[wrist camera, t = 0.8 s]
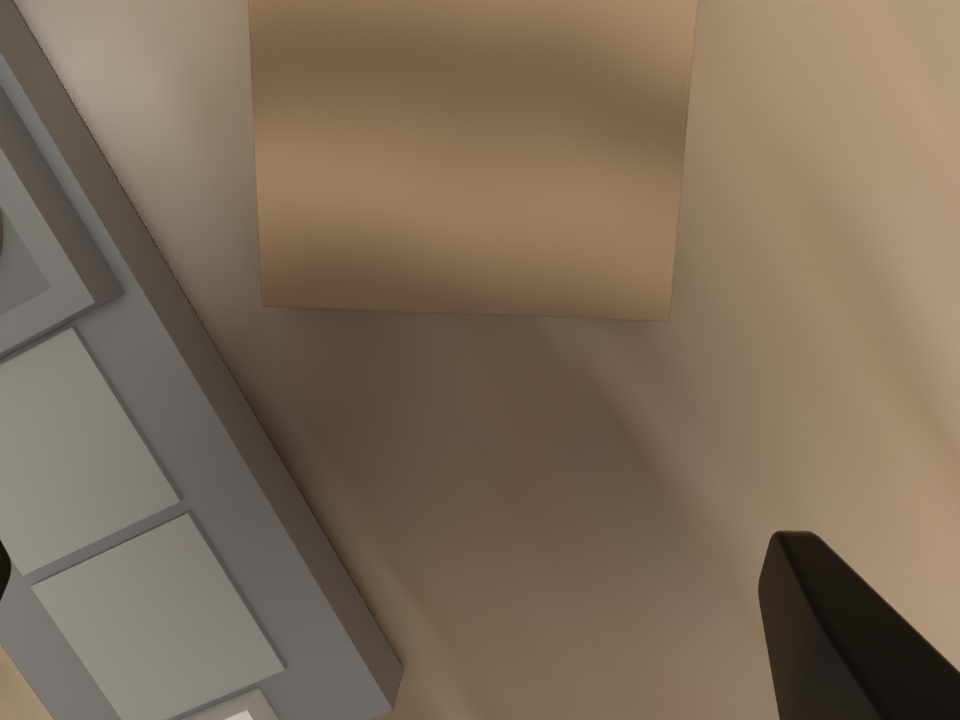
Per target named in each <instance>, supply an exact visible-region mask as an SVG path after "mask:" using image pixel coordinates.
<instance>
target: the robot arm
mask: <svg viewBox="0 0 960 720" xmlns="http://www.w3.org/2000/svg"><path fill="white" fill-rule="evenodd" d="M11 565H12V564H11V559H10V556H9V554H8V552H7V551H6V549H5V547H4V545H3V543H2V541H1V540H0V601H1V599H2V597H3V594H4V592H5V589H6V587H7V584H8V582H9V579H10V575H11ZM758 594H759V603H760V609H761V615H762V620H763V626H764V632H765V638H766V643H767V649H768V655H769V661H770V666H771V672H772V678H773V684H774V690H775V695H776V701H777V707H778V713H779V718H780V720H960V672H959V671H958V670H957V669H956V668H955V667H954V666H953V665H952V664H951V663H950V662H949V661H948V660H947V659H946V658H945V657H944V656H943V655H942V654H941V653H939V652H938V651H937V650H936V649H935V648H934V647H933V646H932V645H931V644H930V643H929V642H928V641H927V640H926V639H925V638H924V637H923V636H922V635H921V634H920V633H919V632H918V631H917V630H916V629H915V628H913V627H912V626H911V625H910V624H909V623H908V622H907V621H906V620H905V619H904V618H903V617H902V616H901V615H900V614H899V613H898V612H897V611H896V610H895V609H894V608H893V607H892V606H891V605H890V604H889V603H887V602H886V601H885V600H884V599H883V598H882V597H881V596H880V595H879V594H878V593H877V592H876V591H875V590H874V589H873V588H872V587H871V586H870V585H869V584H868V583H867V582H866V581H865V580H864V579H863V578H862V577H860V576H859V575H858V574H857V573H856V572H855V571H854V570H853V569H852V568H851V567H850V566H849V565H848V564H847V563H846V562H845V561H844V560H843V559H842V558H841V557H840V556H839V555H838V554H837V553H836V552H834V551H833V550H832V549H831V548H830V547H829V546H828V545H827V544H826V543H825V542H824V541H823V540H822V539H821V538H820V537H819V536H817V535H816V534H814V533H812V532H809V531H777V532H775V533H774V534H773V535H772V537H771V539H770V542H769V546H768V549H767V553H766V556H765V560H764V564H763V567H762V571H761V574H760V578H759V585H758Z"/></svg>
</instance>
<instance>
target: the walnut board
mask: <svg viewBox="0 0 960 720" xmlns="http://www.w3.org/2000/svg"><path fill="white" fill-rule="evenodd" d="M248 8H249V30H250V52H251V75H252V97H253V119H254V141H255V163H256V186H257V208H258V230H259V252H260V274H261V297H262V306H265V307H292V308H320V309H348V310H375V311H403V312H431V313H458V314H486V315H513V316H541V317H569V318H596V319H624V320H652V321H669V316H670V305H671V294H672V282H673V271H674V260H675V248H676V237H677V226H678V215H679V203H680V192H681V181H682V169H683V158H684V147H685V136H686V124H687V113H688V102H689V90H690V79H691V68H692V57H693V45H694V34H695V23H696V11H697V0H248Z"/></svg>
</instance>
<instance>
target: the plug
mask: <svg viewBox="0 0 960 720" xmlns="http://www.w3.org/2000/svg"><path fill="white" fill-rule="evenodd" d="M2 246H3V220H2V212H1V207H0V257H1V252H2Z"/></svg>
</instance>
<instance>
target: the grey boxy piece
mask: <svg viewBox="0 0 960 720" xmlns="http://www.w3.org/2000/svg"><path fill="white" fill-rule="evenodd" d="M0 207H1V212H2V220H3V246H2V252H1V257H0V540H1V541H2V543H3V545H4V547H5V549H6V551H7V552H8V554H9V556H10V559H11V564H12V565H11V575H10V579H9V582H8V584H7V587H6V589H5V592H4V594H3V597H2V599H1V601H0V644H1V646H2V647H3V649H4V650H5V651H6V653H7V654H8V656H9V657H10V658H11V660H12V661H13V663H14V664H15V665H16V667H17V668H18V670H19V671H20V673H21V674H22V675H23V677H24V678H25V680H26V681H27V682H28V684H29V685H30V687H31V688H32V689H33V691H34V692H35V694H36V695H37V697H38V698H39V699H40V701H41V702H42V704H43V705H44V706H45V708H46V709H47V711H48V712H49V713H50V715H51V716H52V718H53V719H54V720H370V719H373V718H376V717H378V716H381V715H383V714H386V713H388V712H391V711H393V709H394V705H395V701H396V696H397V692H398V688H399V684H400V680H401V676H402V672H403V667H402V666H401V664H400V662H399V660H398V659H397V657H396V655H395V654H394V652H393V650H392V648H391V647H390V645H389V643H388V642H387V640H386V638H385V636H384V635H383V633H382V631H381V630H380V628H379V626H378V625H377V623H376V621H375V619H374V618H373V616H372V614H371V613H370V611H369V609H368V607H367V606H366V604H365V602H364V601H363V599H362V597H361V595H360V594H359V592H358V590H357V589H356V587H355V585H354V583H353V582H352V580H351V578H350V577H349V575H348V573H347V572H346V570H345V568H344V566H343V565H342V563H341V561H340V560H339V558H338V556H337V554H336V553H335V551H334V549H333V548H332V546H331V544H330V542H329V541H328V539H327V537H326V536H325V534H324V532H323V530H322V529H321V527H320V525H319V524H318V522H317V520H316V519H315V517H314V515H313V513H312V512H311V510H310V508H309V507H308V505H307V503H306V501H305V500H304V498H303V496H302V495H301V493H300V491H299V489H298V488H297V486H296V484H295V483H294V481H293V479H292V477H291V476H290V474H289V472H288V471H287V469H286V467H285V466H284V464H283V462H282V460H281V459H280V457H279V455H278V454H277V452H276V450H275V448H274V447H273V445H272V443H271V442H270V440H269V438H268V436H267V435H266V433H265V431H264V430H263V428H262V426H261V424H260V423H259V421H258V419H257V418H256V416H255V414H254V413H253V411H252V409H251V407H250V406H249V404H248V402H247V401H246V399H245V397H244V395H243V394H242V392H241V390H240V389H239V387H238V385H237V383H236V382H235V380H234V378H233V377H232V375H231V373H230V371H229V370H228V368H227V366H226V365H225V363H224V361H223V359H222V358H221V356H220V354H219V353H218V351H217V349H216V348H215V346H214V344H213V342H212V341H211V339H210V337H209V336H208V334H207V332H206V330H205V329H204V327H203V325H202V324H201V322H200V320H199V318H198V317H197V315H196V313H195V312H194V310H193V308H192V306H191V305H190V303H189V301H188V300H187V298H186V296H185V295H184V293H183V291H182V289H181V288H180V286H179V284H178V283H177V281H176V279H175V277H174V276H173V274H172V272H171V271H170V269H169V267H168V265H167V264H166V262H165V260H164V259H163V257H162V255H161V253H160V252H159V250H158V248H157V247H156V245H155V243H154V242H153V240H152V238H151V236H150V235H149V233H148V231H147V230H146V228H145V226H144V224H143V223H142V221H141V219H140V218H139V216H138V214H137V212H136V211H135V209H134V207H133V206H132V204H131V202H130V200H129V199H128V197H127V195H126V194H125V192H124V190H123V189H122V187H121V185H120V183H119V182H118V180H117V178H116V177H115V175H114V173H113V171H112V170H111V168H110V166H109V165H108V163H107V161H106V159H105V158H104V156H103V154H102V153H101V151H100V149H99V147H98V146H97V144H96V142H95V141H94V139H93V137H92V136H91V134H90V132H89V130H88V129H87V127H86V125H85V124H84V122H83V120H82V118H81V117H80V115H79V113H78V112H77V110H76V108H75V106H74V105H73V103H72V101H71V100H70V98H69V96H68V94H67V93H66V91H65V89H64V88H63V86H62V84H61V83H60V81H59V79H58V77H57V76H56V74H55V72H54V71H53V69H52V67H51V65H50V64H49V62H48V60H47V59H46V57H45V55H44V53H43V52H42V50H41V48H40V47H39V45H38V43H37V41H36V40H35V38H34V36H33V35H32V33H31V31H30V30H29V28H28V26H27V24H26V23H25V21H24V19H23V18H22V16H21V14H20V12H19V11H18V9H17V7H16V6H15V4H14V2H13V0H0Z"/></svg>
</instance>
